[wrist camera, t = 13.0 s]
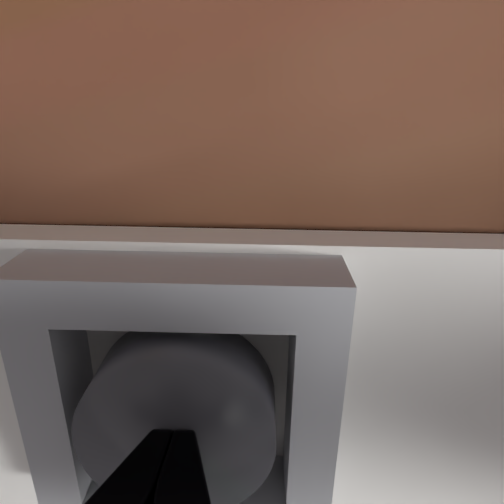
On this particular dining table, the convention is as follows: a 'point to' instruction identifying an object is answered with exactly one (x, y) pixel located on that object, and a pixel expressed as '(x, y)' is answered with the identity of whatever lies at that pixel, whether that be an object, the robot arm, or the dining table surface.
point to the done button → (182, 407)
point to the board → (271, 351)
